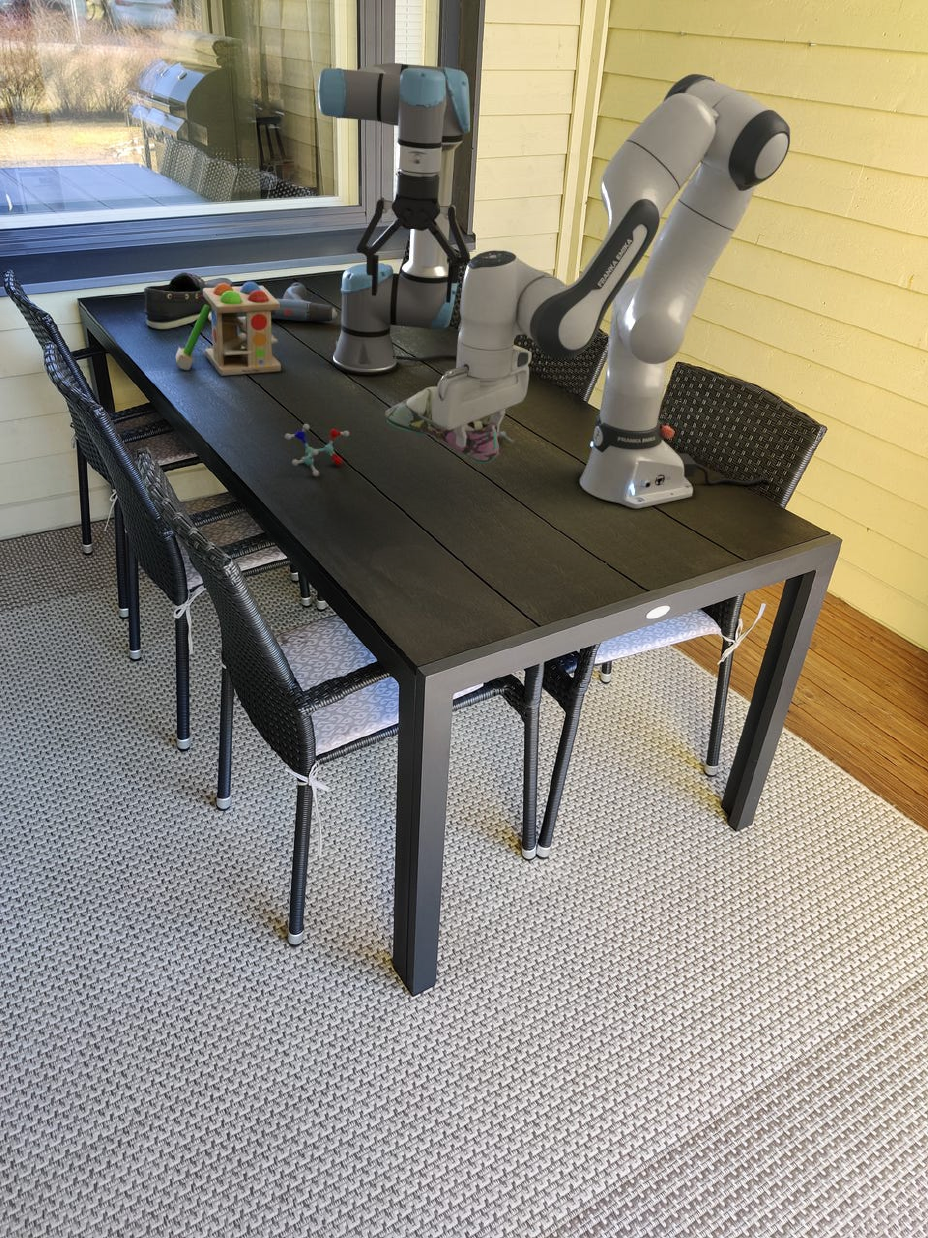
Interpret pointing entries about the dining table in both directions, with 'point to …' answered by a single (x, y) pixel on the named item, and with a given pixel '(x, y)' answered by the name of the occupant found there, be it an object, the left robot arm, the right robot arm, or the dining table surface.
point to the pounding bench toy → (229, 347)
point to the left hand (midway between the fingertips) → (411, 297)
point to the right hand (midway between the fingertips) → (477, 439)
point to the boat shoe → (178, 300)
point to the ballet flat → (419, 420)
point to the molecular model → (313, 452)
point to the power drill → (301, 307)
